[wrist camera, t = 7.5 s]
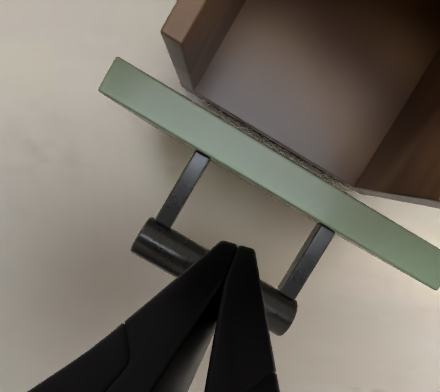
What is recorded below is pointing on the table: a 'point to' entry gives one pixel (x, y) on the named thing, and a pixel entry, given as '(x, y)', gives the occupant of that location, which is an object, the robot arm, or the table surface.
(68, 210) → the table surface
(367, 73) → the drawer
